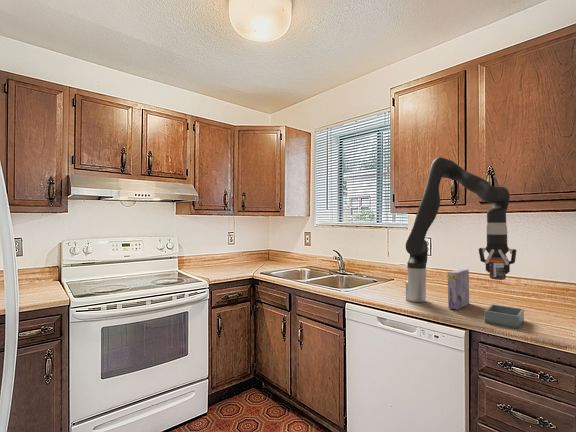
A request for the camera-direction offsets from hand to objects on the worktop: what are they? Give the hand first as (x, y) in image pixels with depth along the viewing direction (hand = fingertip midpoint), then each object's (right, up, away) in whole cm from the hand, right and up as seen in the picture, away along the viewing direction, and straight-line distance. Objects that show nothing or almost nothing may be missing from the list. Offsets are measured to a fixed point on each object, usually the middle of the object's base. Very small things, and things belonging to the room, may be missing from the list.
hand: (497, 272), depth 146 cm
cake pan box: (-4, -21, +24) cm, 32 cm away
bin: (+2, -20, -1) cm, 21 cm away
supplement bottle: (0, -3, 0) cm, 3 cm away
